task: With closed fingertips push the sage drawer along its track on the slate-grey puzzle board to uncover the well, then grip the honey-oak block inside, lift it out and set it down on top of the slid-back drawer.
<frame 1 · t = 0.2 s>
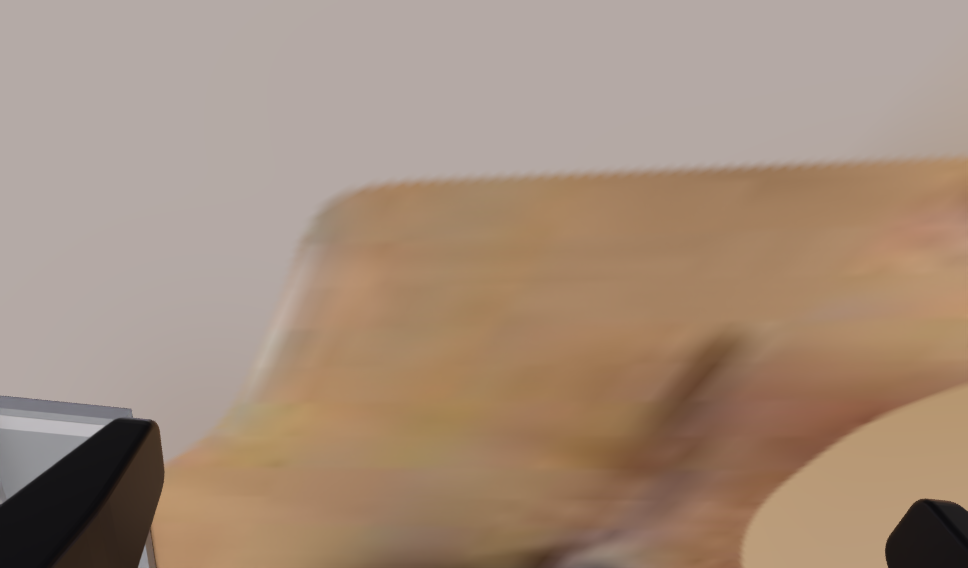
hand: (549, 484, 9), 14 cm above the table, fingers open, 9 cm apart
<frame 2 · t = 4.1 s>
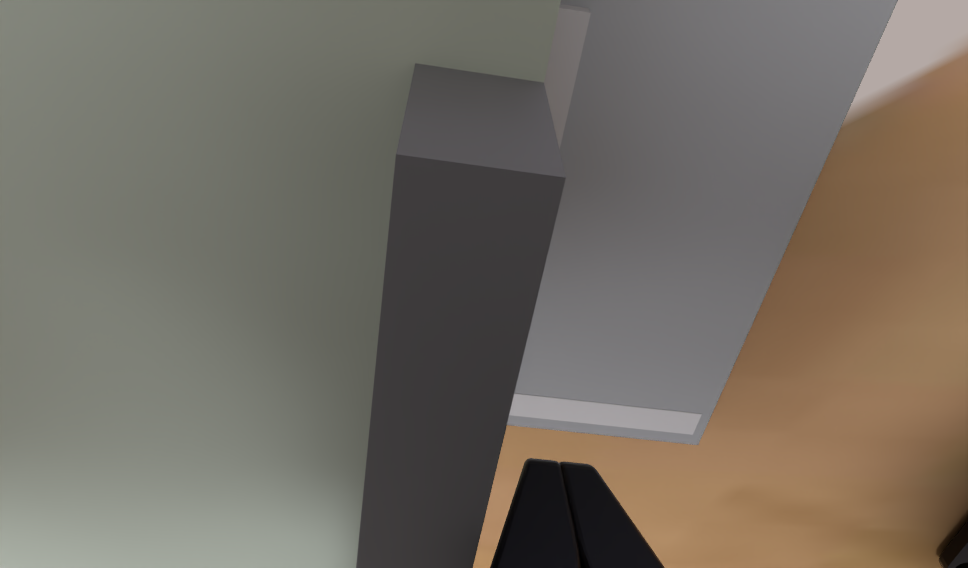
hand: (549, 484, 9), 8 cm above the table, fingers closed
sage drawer: (228, 297, 11), point 5 cm above the table, slide at 1.2 cm, touching gripper
puzzle board: (211, 148, 15), on the table
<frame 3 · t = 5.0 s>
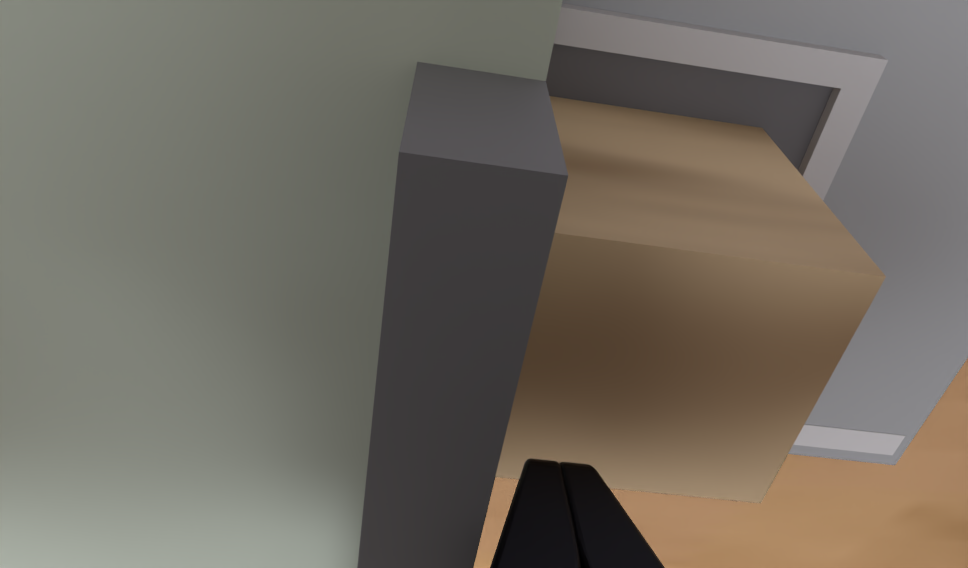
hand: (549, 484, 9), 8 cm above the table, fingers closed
oak block: (614, 217, 15), point 1 cm above the table, touching puzzle board
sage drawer: (229, 296, 11), point 5 cm above the table, slide at 6.4 cm, touching gripper
puzzle board: (477, 183, 15), on the table
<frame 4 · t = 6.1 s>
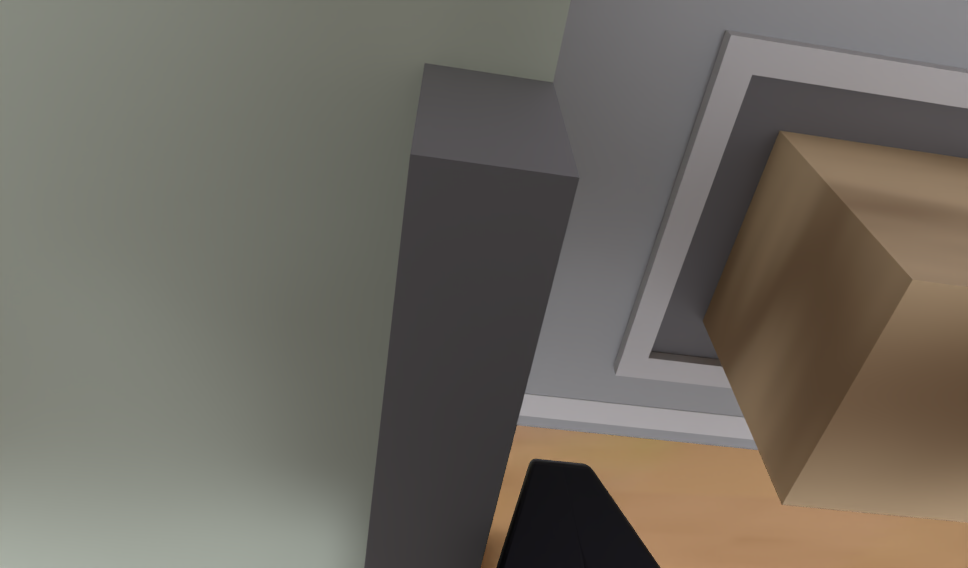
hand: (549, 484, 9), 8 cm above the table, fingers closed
oak block: (841, 247, 15), point 1 cm above the table, touching puzzle board
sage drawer: (232, 297, 11), point 5 cm above the table, slide at 11.2 cm, touching gripper
puzzle board: (706, 215, 16), on the table
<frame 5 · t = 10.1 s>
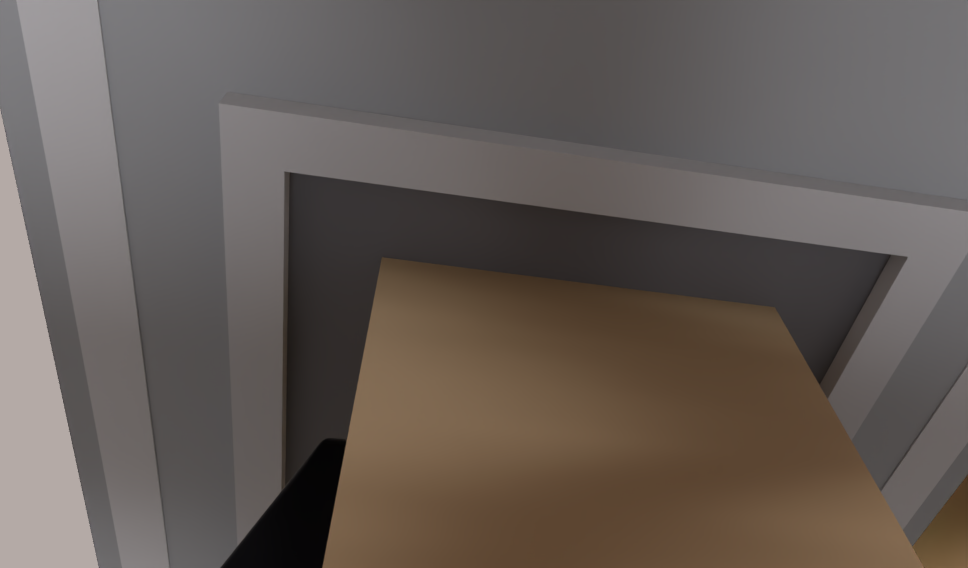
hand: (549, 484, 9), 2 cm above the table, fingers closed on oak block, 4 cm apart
oak block: (542, 426, 9), point 1 cm above the table, touching gripper, puzzle board
puzzle board: (504, 521, 12), on the table
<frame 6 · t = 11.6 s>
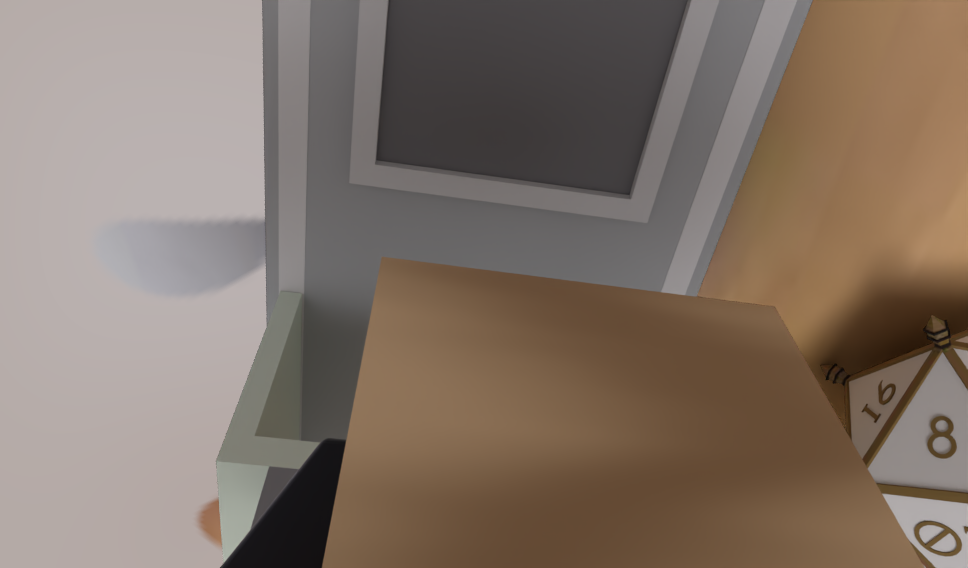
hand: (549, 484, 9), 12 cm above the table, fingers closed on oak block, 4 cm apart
oak block: (542, 425, 10), point 11 cm above the table, touching gripper
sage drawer: (459, 513, 20), point 5 cm above the table, slide at 11.2 cm
game die: (913, 359, 23), on the table
puzzle board: (507, 149, 19), on the table
when the fingers open (9 cm above the table, at t = 12.9 s): oak block drops 1 cm, resting on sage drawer.
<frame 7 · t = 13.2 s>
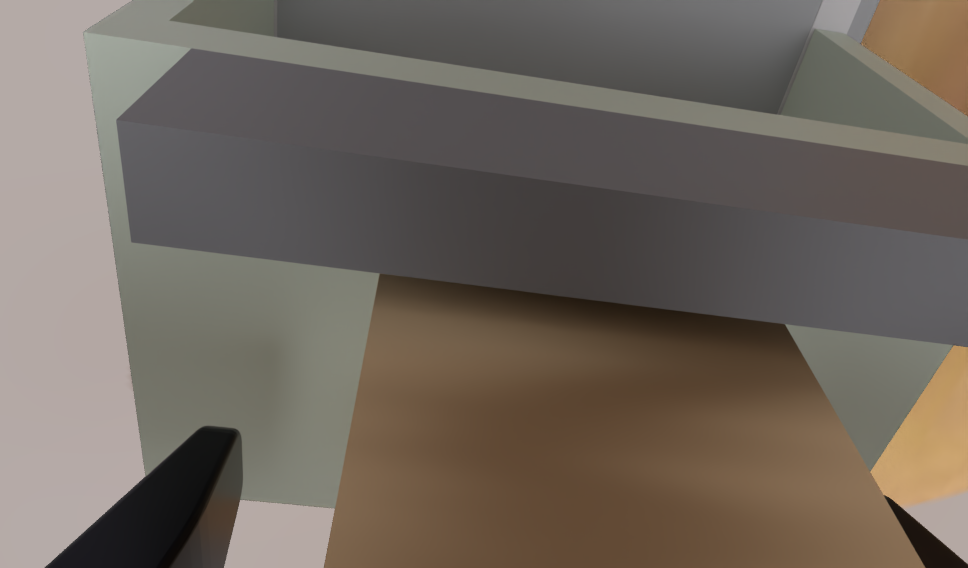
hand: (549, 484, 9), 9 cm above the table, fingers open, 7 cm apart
oak block: (537, 372, 10), point 7 cm above the table, touching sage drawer
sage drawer: (530, 273, 12), point 5 cm above the table, slide at 11.2 cm, touching oak block
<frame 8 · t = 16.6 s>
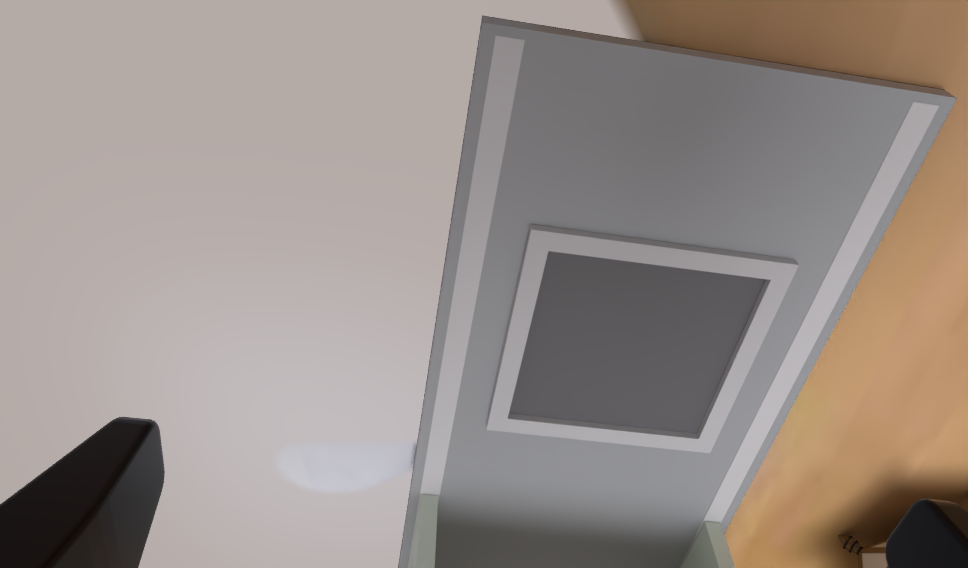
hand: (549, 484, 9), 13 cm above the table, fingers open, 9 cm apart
game die: (912, 529, 29), on the table
puzzle board: (604, 399, 25), on the table
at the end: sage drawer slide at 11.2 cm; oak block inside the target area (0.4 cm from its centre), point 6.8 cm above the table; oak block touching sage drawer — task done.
